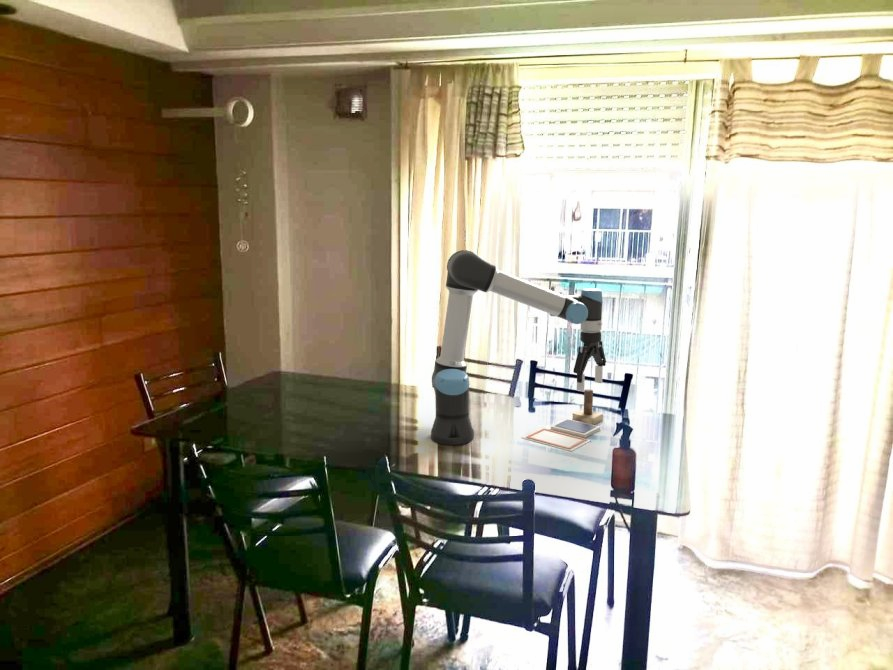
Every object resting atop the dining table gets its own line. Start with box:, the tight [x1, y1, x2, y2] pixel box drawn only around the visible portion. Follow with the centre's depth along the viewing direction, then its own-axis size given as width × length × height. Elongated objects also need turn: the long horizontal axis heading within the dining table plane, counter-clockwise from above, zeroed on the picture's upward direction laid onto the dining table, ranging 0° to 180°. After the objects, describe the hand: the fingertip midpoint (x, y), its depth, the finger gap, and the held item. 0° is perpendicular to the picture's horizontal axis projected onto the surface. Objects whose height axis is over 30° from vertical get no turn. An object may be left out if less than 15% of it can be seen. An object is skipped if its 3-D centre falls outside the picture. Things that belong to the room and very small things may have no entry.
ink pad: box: [550, 418, 601, 439], centre depth 239 cm, size 14×11×1 cm
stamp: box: [571, 388, 604, 425], centre depth 249 cm, size 9×7×12 cm
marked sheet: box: [521, 427, 592, 452], centre depth 230 cm, size 20×13×1 cm, turn 49°
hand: (589, 386), depth 247 cm, fingers open, 13 cm apart
